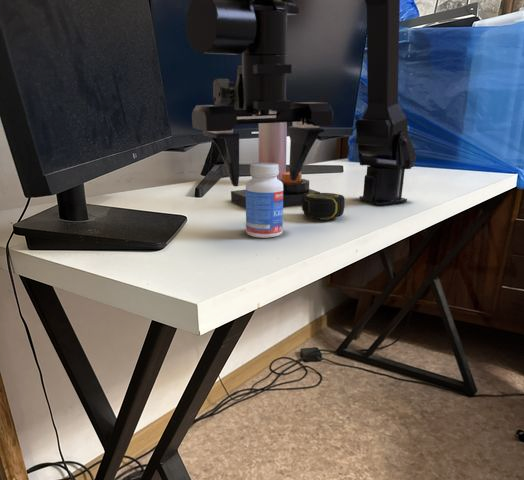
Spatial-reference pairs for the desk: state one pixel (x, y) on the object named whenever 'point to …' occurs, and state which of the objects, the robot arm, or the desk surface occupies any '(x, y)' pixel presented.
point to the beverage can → (273, 144)
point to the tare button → (287, 178)
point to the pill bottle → (264, 201)
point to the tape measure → (323, 205)
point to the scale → (290, 193)
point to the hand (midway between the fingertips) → (264, 183)
